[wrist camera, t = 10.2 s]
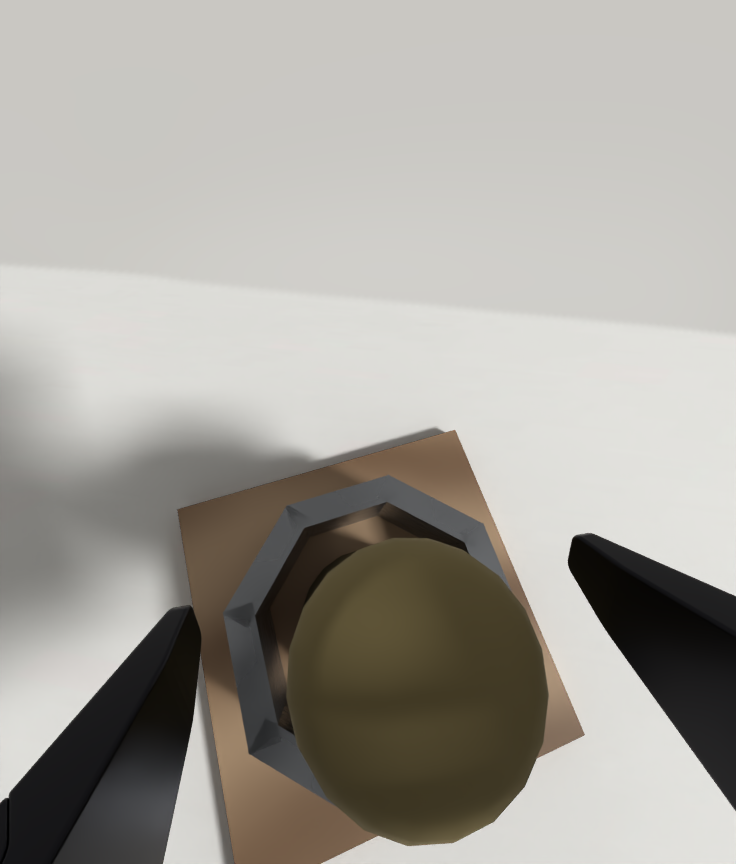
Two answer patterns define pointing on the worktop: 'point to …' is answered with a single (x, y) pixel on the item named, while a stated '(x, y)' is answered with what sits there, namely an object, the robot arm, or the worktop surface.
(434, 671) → the cork
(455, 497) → the walnut plate
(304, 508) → the metal collar
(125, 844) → the robot arm
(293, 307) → the worktop surface
